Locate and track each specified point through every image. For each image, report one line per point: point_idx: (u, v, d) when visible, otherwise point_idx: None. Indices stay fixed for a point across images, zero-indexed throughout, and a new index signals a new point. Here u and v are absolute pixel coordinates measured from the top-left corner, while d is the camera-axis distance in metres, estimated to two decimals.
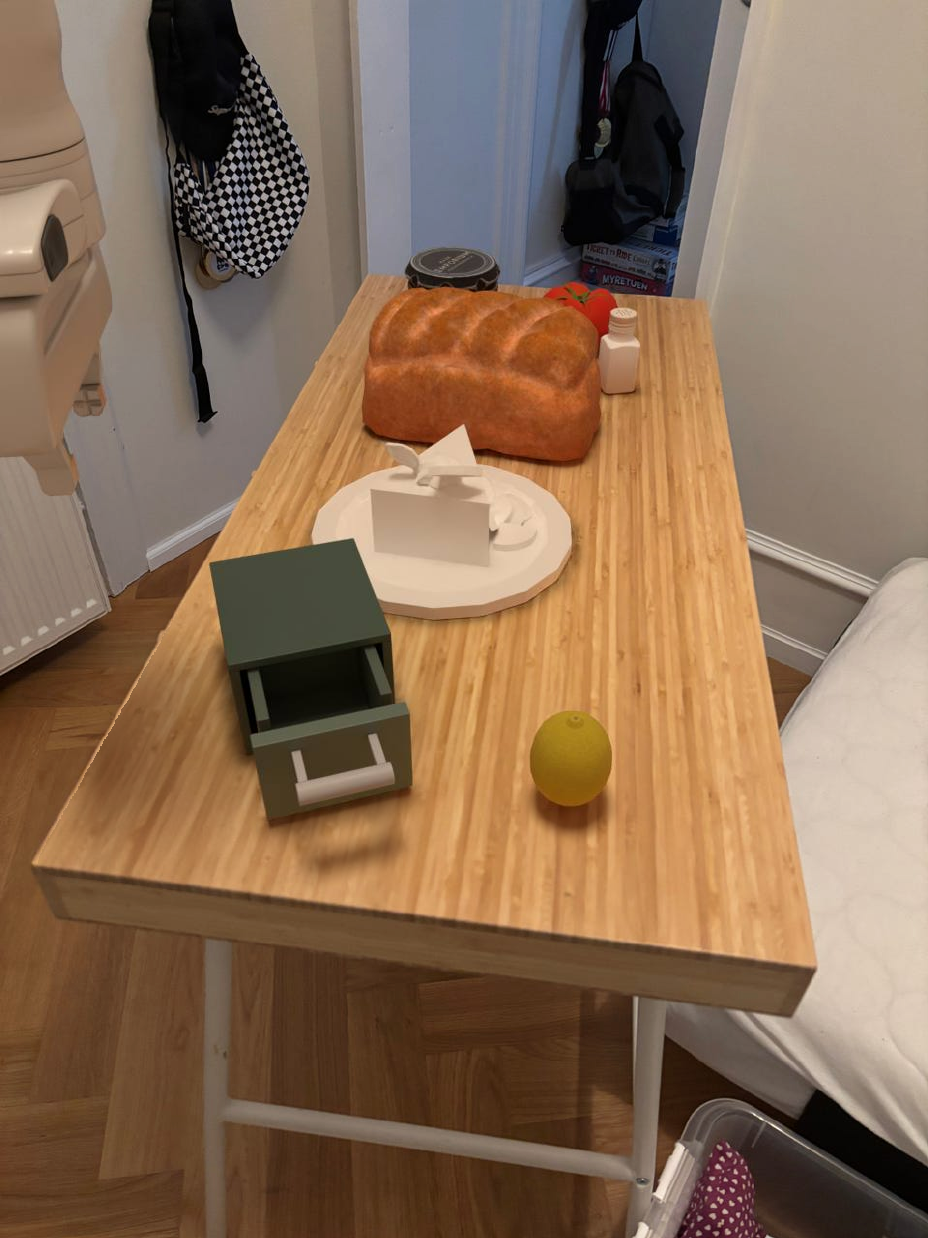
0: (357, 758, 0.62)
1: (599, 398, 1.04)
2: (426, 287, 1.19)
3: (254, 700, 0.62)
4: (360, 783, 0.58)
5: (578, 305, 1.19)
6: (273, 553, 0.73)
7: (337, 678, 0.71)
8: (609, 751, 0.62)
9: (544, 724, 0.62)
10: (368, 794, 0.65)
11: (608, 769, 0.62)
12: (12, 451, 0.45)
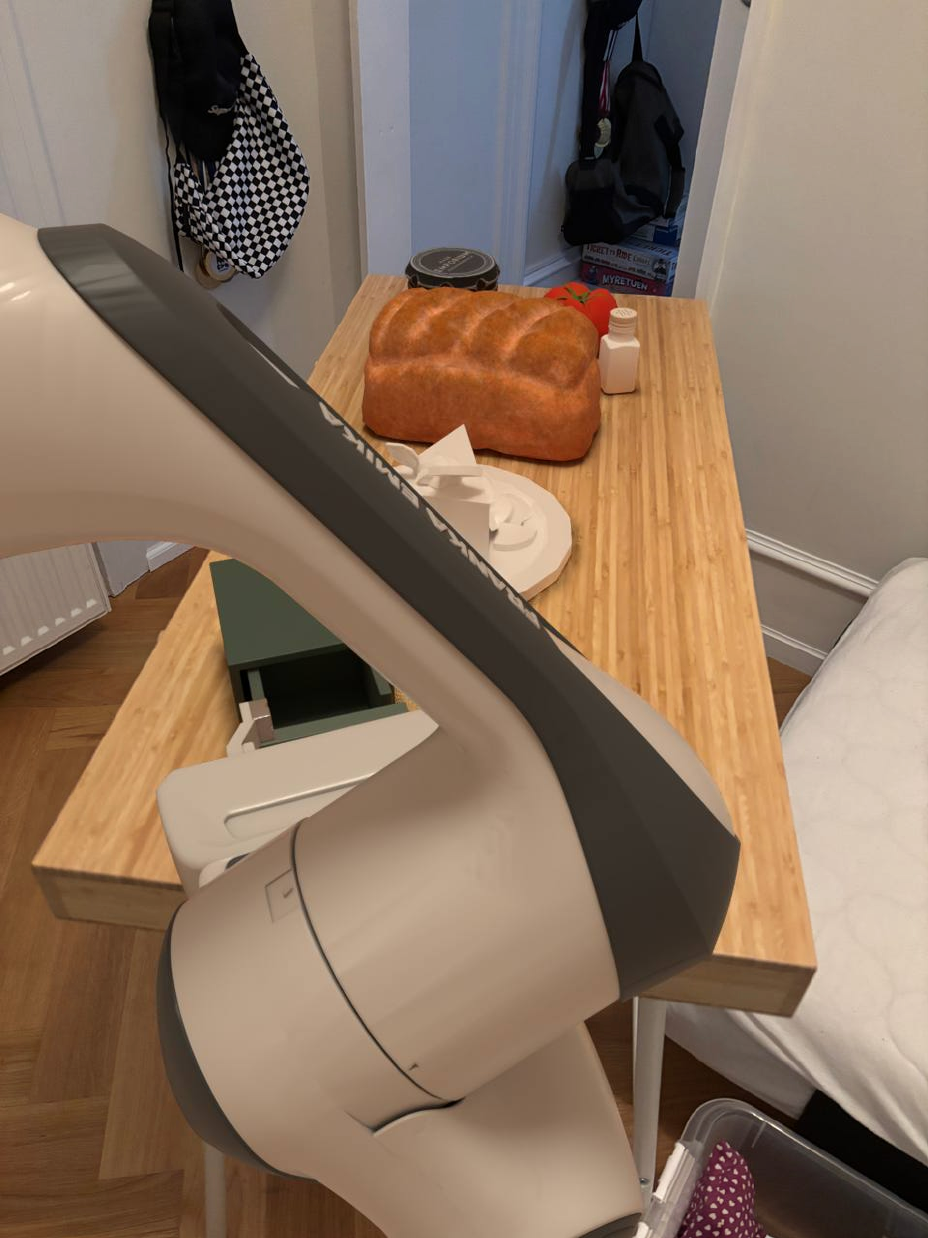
0: None
1: (599, 398, 1.04)
2: (426, 287, 1.19)
3: None
4: None
5: (578, 304, 1.19)
6: None
7: (337, 678, 0.71)
8: None
9: None
10: None
11: None
12: None
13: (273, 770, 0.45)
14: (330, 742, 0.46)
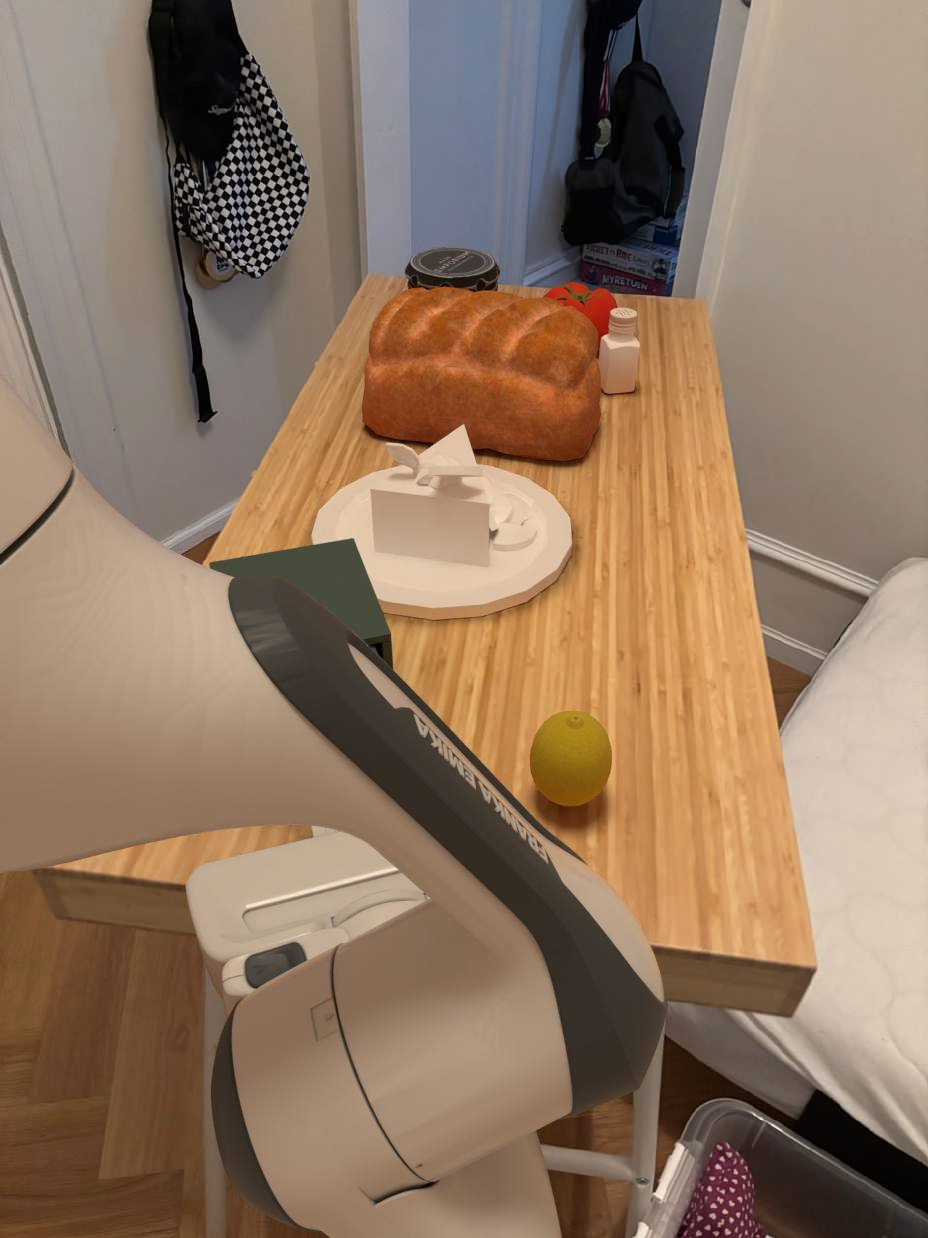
0: None
1: (599, 398, 1.04)
2: (426, 287, 1.19)
3: None
4: None
5: (578, 304, 1.19)
6: (273, 553, 0.73)
7: None
8: (609, 751, 0.62)
9: (544, 724, 0.62)
10: None
11: (608, 769, 0.62)
12: None
13: (284, 869, 0.53)
14: (332, 844, 0.54)
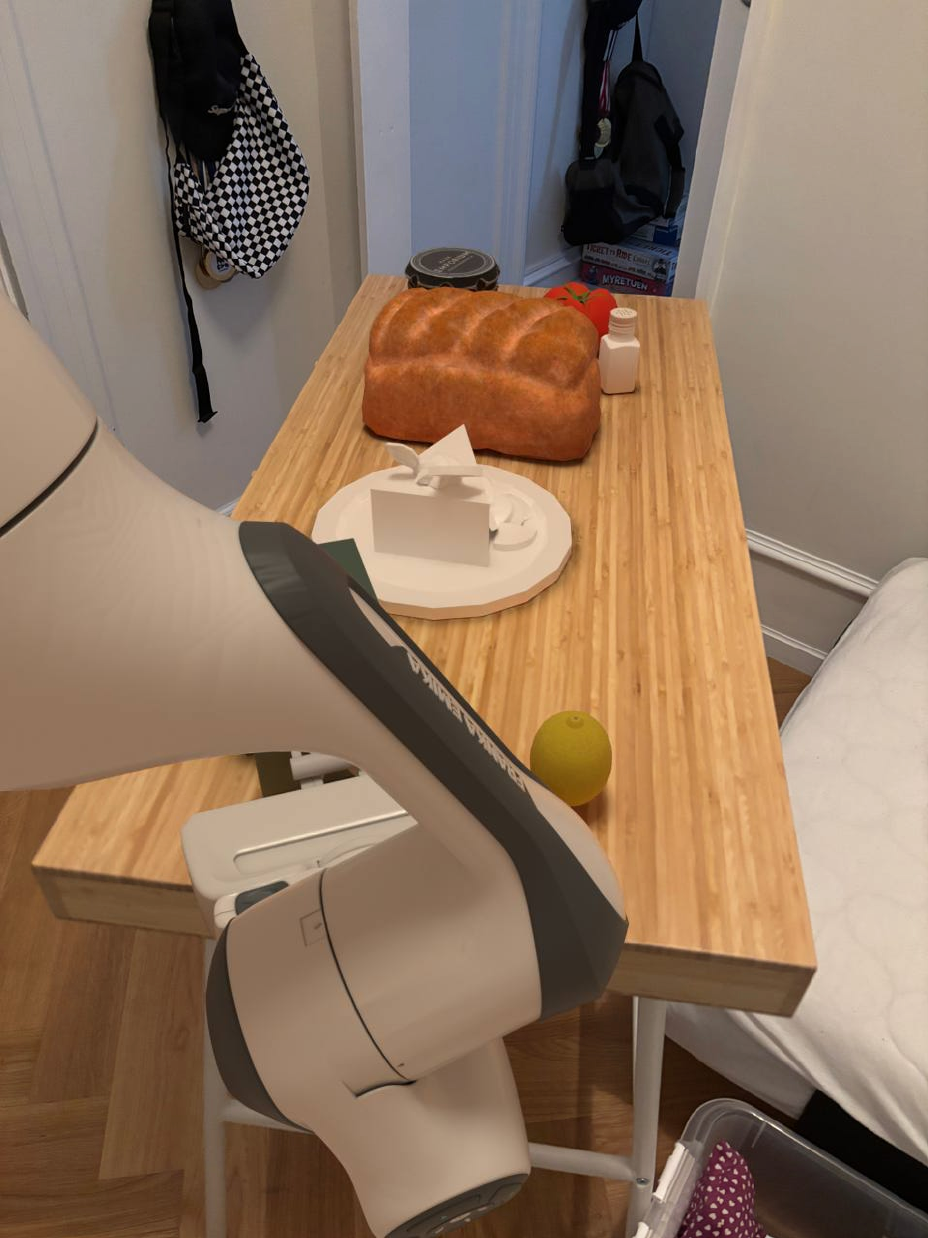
0: None
1: (599, 398, 1.04)
2: (426, 287, 1.19)
3: None
4: None
5: (578, 304, 1.19)
6: None
7: None
8: (609, 751, 0.62)
9: (544, 724, 0.62)
10: None
11: (608, 769, 0.62)
12: None
13: (273, 817, 0.56)
14: (319, 795, 0.57)
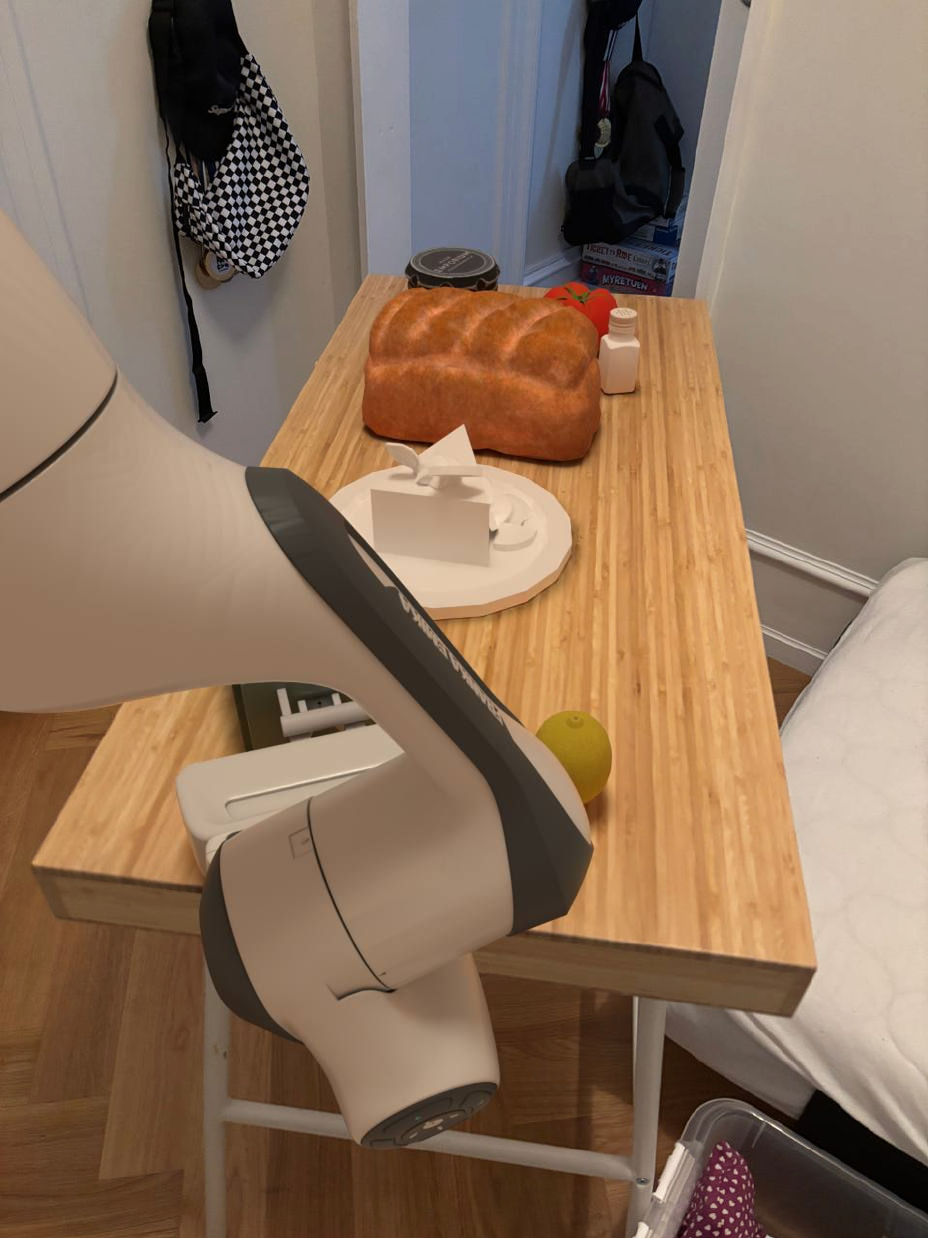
0: None
1: (599, 398, 1.04)
2: (426, 287, 1.19)
3: None
4: (340, 716, 0.62)
5: (578, 304, 1.19)
6: None
7: None
8: (609, 751, 0.62)
9: (544, 724, 0.62)
10: None
11: (608, 769, 0.62)
12: None
13: (263, 767, 0.59)
14: (307, 747, 0.60)
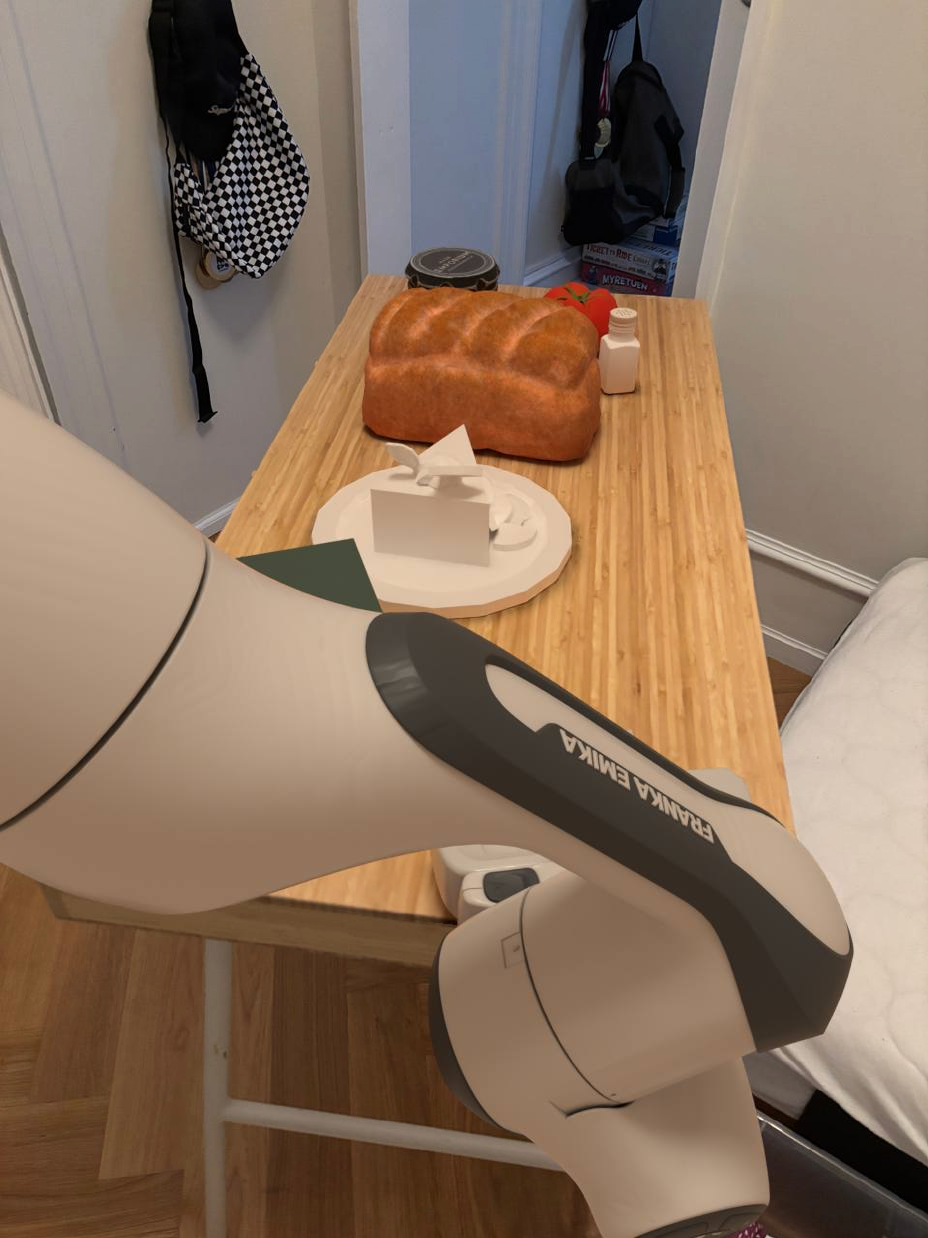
0: None
1: (599, 398, 1.04)
2: (426, 287, 1.19)
3: None
4: None
5: (578, 304, 1.19)
6: (273, 553, 0.73)
7: None
8: None
9: None
10: None
11: None
12: None
13: None
14: None
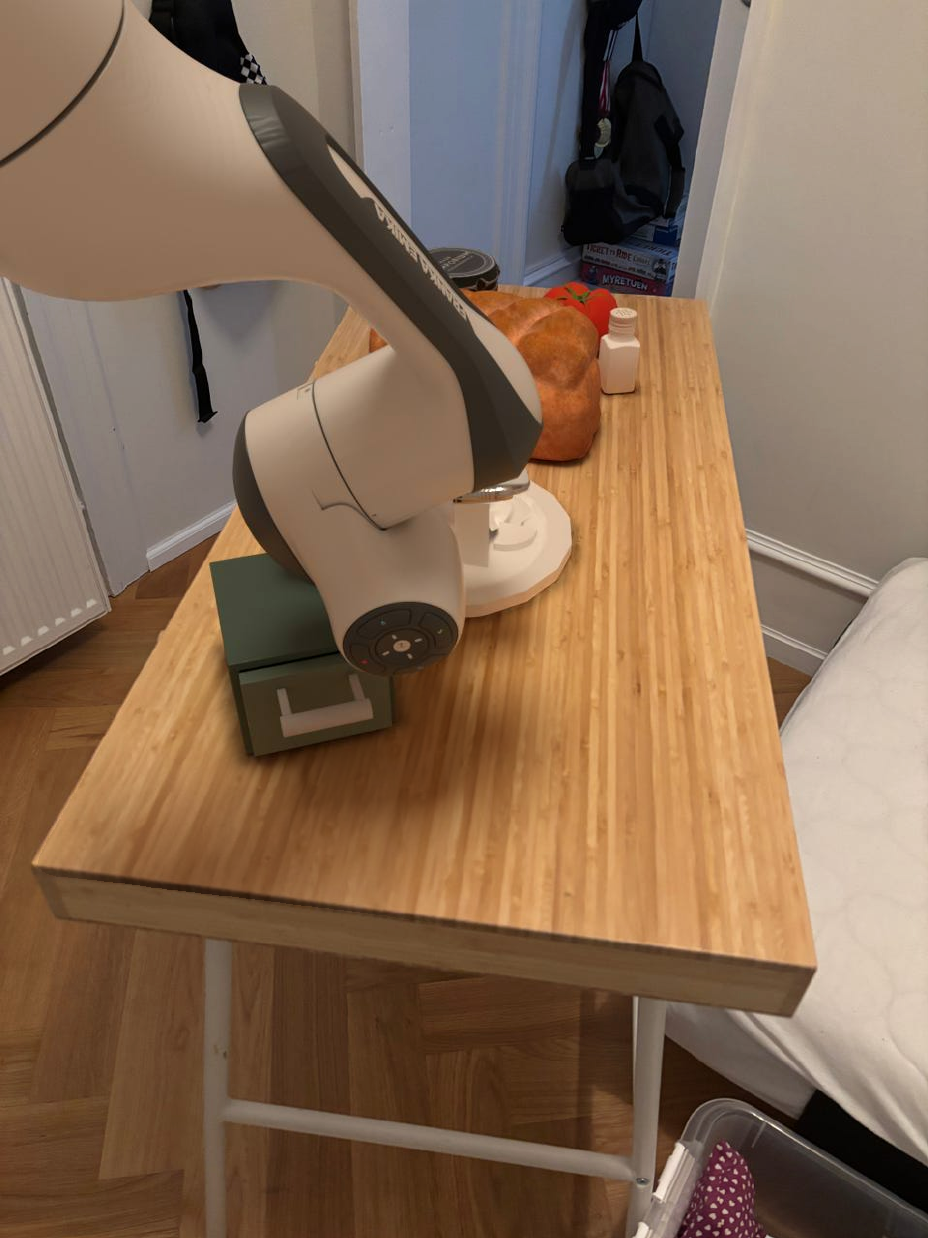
0: (339, 697, 0.66)
1: (599, 398, 1.04)
2: None
3: None
4: (340, 716, 0.62)
5: (578, 304, 1.19)
6: None
7: None
8: None
9: None
10: (350, 733, 0.69)
11: None
12: None
13: None
14: None
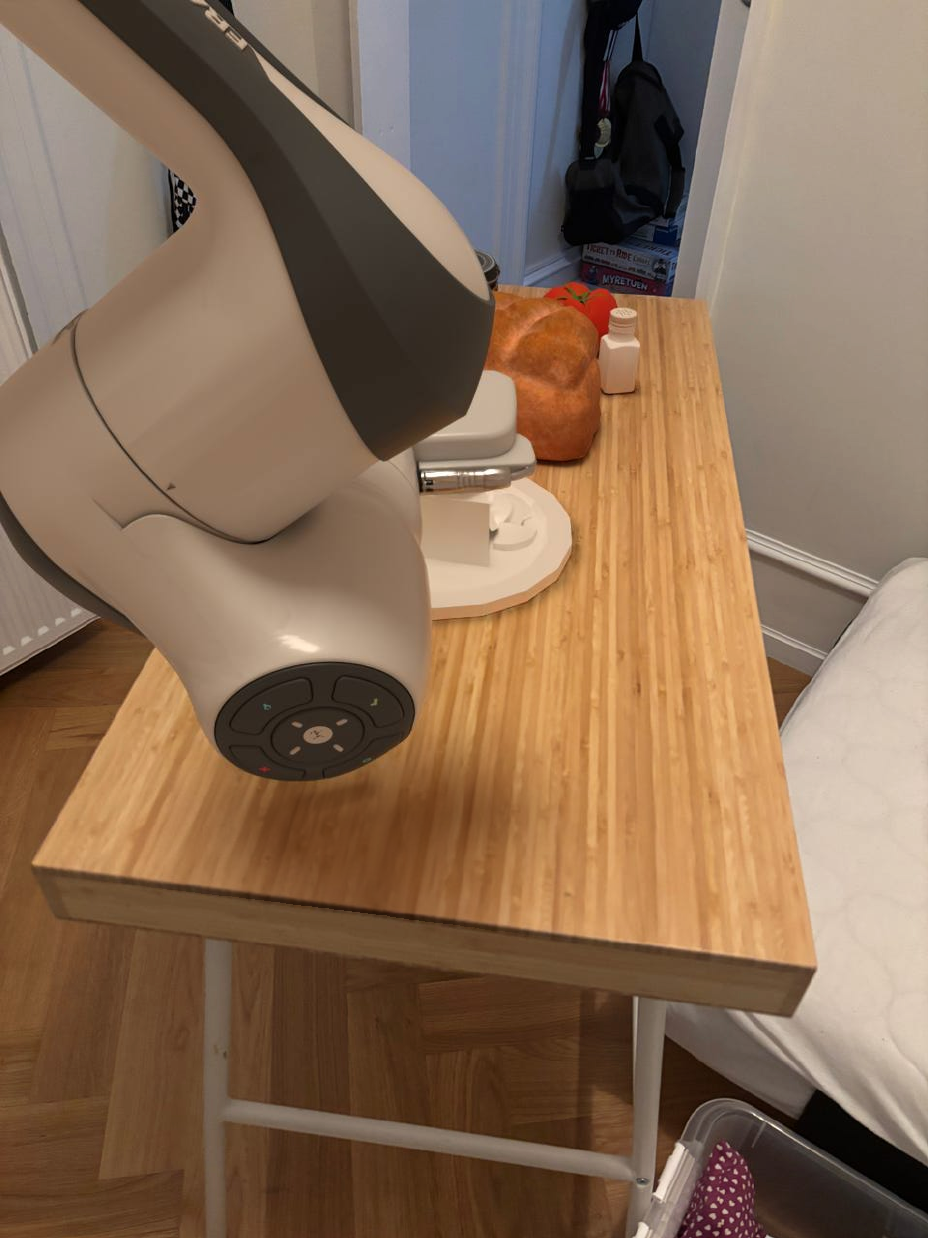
0: None
1: (599, 398, 1.04)
2: None
3: None
4: None
5: (578, 304, 1.19)
6: None
7: None
8: None
9: None
10: None
11: None
12: None
13: None
14: None
